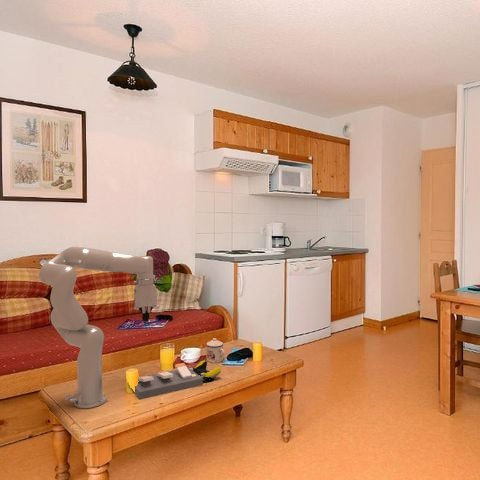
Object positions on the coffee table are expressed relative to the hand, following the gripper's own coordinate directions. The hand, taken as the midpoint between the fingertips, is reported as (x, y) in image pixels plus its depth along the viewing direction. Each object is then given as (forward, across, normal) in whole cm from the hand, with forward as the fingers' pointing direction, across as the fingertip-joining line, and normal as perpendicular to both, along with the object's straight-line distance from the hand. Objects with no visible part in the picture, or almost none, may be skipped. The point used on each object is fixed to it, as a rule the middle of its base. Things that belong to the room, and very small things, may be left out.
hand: (145, 320), depth 191 cm
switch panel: (+27, +4, -14) cm, 31 cm away
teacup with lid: (+27, +39, +3) cm, 48 cm away
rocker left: (+22, -5, -14) cm, 27 cm away
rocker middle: (+22, +4, -14) cm, 26 cm away
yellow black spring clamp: (+28, +24, -13) cm, 39 cm away
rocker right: (+22, +13, -14) cm, 29 cm away
